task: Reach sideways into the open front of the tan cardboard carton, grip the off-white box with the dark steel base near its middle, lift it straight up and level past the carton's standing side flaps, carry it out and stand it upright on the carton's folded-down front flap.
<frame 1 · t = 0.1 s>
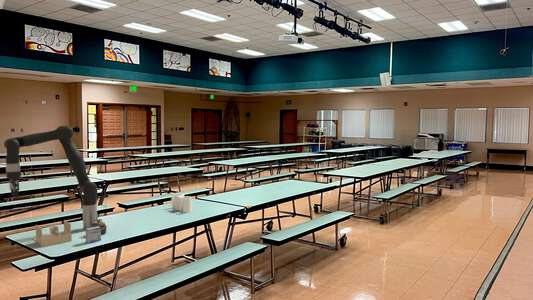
hand: (14, 196, 247), 29 cm above the table, tool pointing down, fingers open, 8 cm apart
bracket: (182, 210, 337), on the table
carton: (53, 241, 250), on the table
medicine box: (93, 241, 249), on the table
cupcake: (99, 234, 266), on the table
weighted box: (54, 242, 248), on the table
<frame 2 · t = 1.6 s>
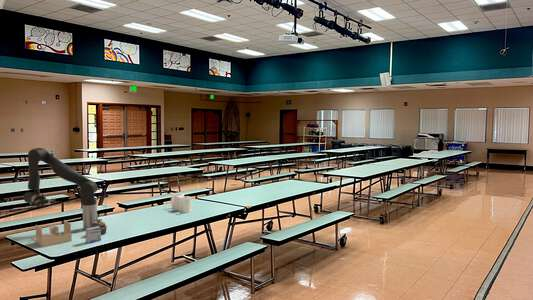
hand: (46, 204, 258), 22 cm above the table, tool horizontal, fingers open, 8 cm apart
nothing on the table moved.
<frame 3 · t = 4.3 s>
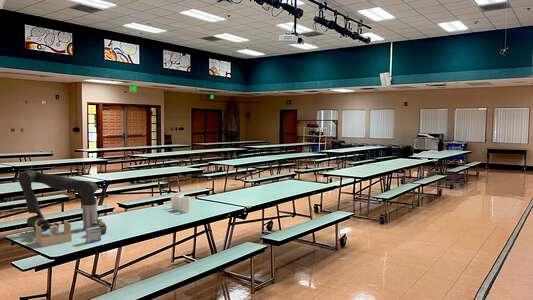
hand: (49, 229, 256), 6 cm above the table, tool horizontal, fingers open, 8 cm apart
nothing on the table moved.
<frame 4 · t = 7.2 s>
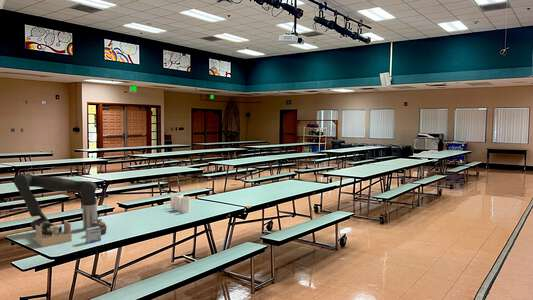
hand: (55, 233, 247), 6 cm above the table, tool horizontal, fingers closed on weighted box, 3 cm apart
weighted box: (54, 242, 249), on the table, touching gripper
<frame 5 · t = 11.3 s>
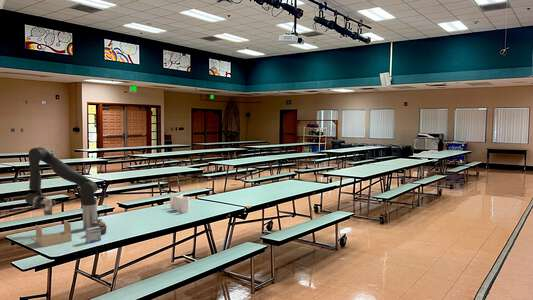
hand: (48, 205, 254), 22 cm above the table, tool horizontal, fingers closed on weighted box, 3 cm apart
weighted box: (48, 214, 256), point 16 cm above the table, touching gripper
when the fingers open (7 cm above the table, at t = 15.5 s): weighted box stays where it is, resting on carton.
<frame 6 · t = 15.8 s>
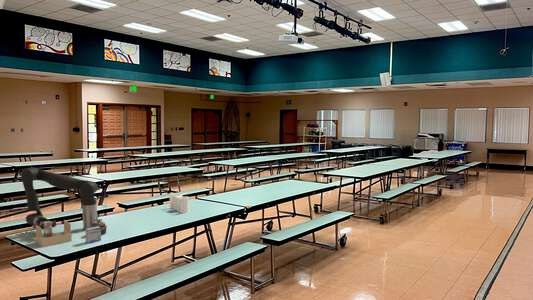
hand: (48, 226, 257), 7 cm above the table, tool horizontal, fingers open, 5 cm apart
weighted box: (48, 236, 258), resting on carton
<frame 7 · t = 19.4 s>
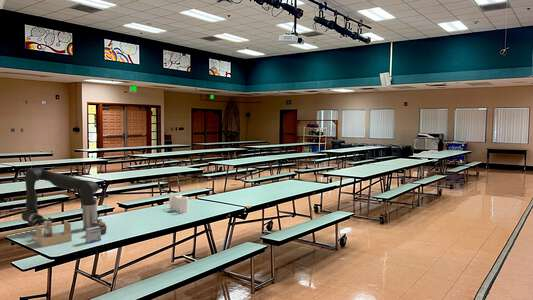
hand: (43, 223, 265), 7 cm above the table, tool horizontal, fingers open, 8 cm apart
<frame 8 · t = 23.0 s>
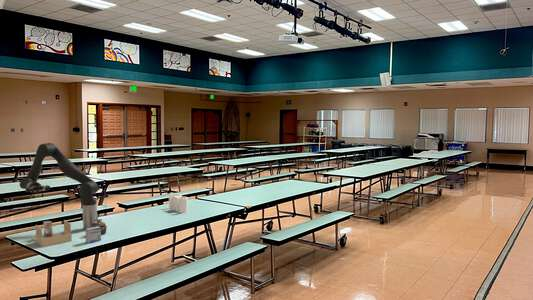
hand: (40, 189, 265), 30 cm above the table, tool horizontal, fingers open, 8 cm apart
at the end: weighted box inside the target area (0.1 cm from its centre), resting on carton; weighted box tilted 0°; the gripper is holding nothing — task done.
